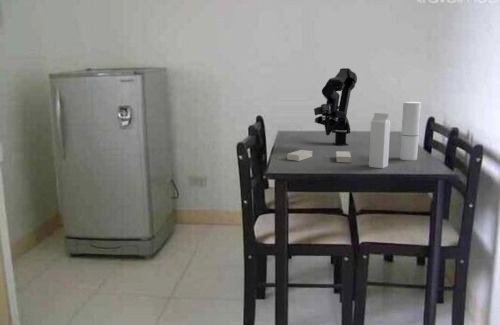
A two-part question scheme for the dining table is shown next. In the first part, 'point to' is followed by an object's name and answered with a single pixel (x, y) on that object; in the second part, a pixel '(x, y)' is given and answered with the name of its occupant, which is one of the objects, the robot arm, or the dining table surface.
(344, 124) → the robot arm
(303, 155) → the tile two
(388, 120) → the milk
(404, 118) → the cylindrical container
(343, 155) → the tile one
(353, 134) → the dining table surface
